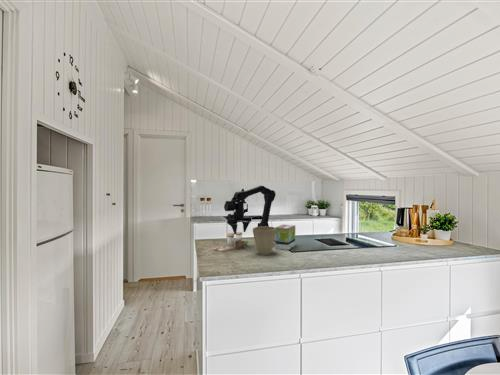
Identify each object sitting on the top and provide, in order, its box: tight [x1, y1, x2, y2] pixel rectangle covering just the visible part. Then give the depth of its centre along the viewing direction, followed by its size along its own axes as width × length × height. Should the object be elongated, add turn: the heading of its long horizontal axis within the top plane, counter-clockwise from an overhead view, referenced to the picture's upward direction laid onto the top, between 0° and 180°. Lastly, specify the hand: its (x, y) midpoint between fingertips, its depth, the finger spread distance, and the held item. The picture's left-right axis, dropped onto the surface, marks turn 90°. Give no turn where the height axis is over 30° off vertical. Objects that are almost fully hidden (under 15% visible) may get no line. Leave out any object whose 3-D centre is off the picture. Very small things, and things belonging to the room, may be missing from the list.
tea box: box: [274, 224, 296, 251], centre depth 197 cm, size 15×10×15 cm, turn 154°
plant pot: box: [252, 226, 276, 256], centre depth 181 cm, size 15×15×16 cm
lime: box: [242, 238, 249, 246], centre depth 204 cm, size 4×4×4 cm
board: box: [211, 245, 236, 253], centre depth 193 cm, size 10×12×1 cm
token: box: [234, 239, 246, 250], centre depth 195 cm, size 4×4×5 cm
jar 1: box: [226, 234, 235, 247], centre depth 201 cm, size 5×5×8 cm
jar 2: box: [235, 231, 243, 241], centre depth 209 cm, size 5×5×8 cm
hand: (239, 233), depth 195 cm, fingers open, 9 cm apart
